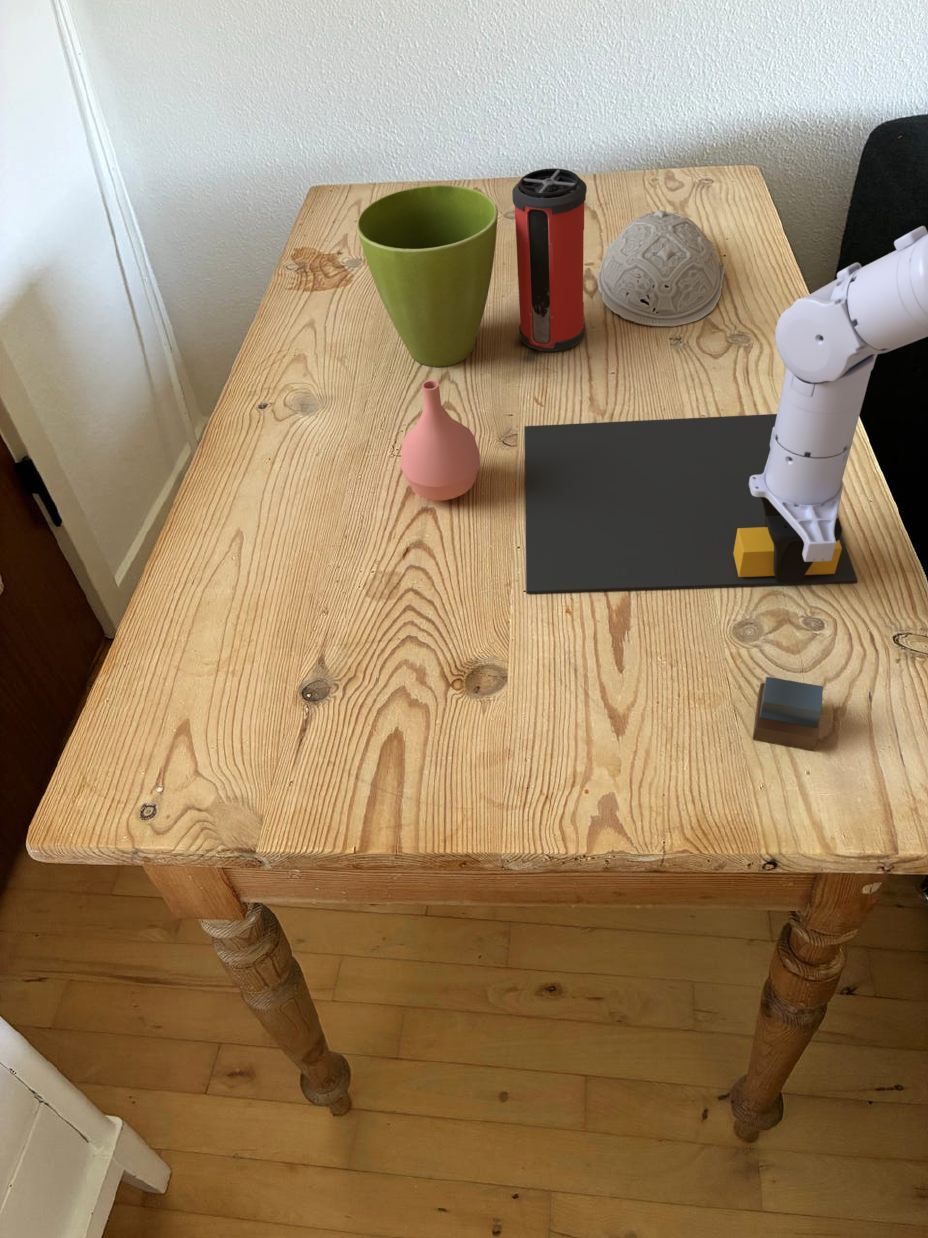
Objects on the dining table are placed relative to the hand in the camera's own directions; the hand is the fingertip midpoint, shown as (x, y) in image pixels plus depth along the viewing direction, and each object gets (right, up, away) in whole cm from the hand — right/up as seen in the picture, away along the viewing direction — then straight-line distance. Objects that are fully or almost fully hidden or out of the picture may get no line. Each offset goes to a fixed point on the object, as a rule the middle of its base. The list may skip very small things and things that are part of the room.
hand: (783, 564), depth 81 cm
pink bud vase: (-30, +8, +12) cm, 33 cm away
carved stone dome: (-3, +38, +37) cm, 53 cm away
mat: (-8, +7, +8) cm, 13 cm away
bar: (0, 0, 0) cm, 0 cm away
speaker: (-17, +28, +29) cm, 44 cm away
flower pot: (-30, +27, +29) cm, 50 cm away
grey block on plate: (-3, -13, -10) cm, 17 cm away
